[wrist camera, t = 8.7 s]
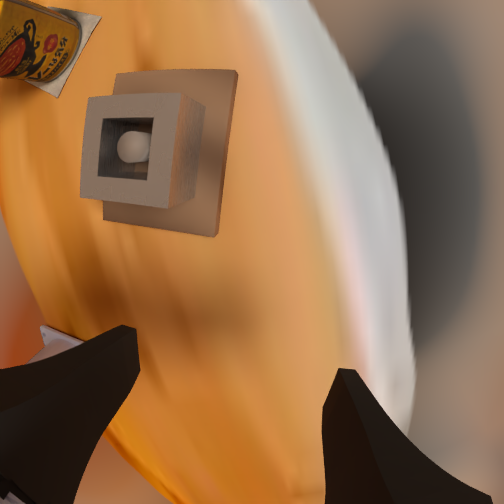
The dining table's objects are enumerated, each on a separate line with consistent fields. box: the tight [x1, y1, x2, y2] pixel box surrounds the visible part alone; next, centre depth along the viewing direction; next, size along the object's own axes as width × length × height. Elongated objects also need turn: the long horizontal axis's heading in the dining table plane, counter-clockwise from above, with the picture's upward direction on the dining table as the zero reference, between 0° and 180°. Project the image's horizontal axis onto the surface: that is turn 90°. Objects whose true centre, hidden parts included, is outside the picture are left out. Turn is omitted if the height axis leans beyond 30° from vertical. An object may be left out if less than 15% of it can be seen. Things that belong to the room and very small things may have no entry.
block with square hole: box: [80, 93, 206, 209], centre depth 15 cm, size 5×5×4 cm
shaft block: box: [103, 69, 238, 237], centre depth 15 cm, size 10×8×4 cm
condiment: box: [0, 0, 101, 98], centre depth 10 cm, size 7×8×12 cm
